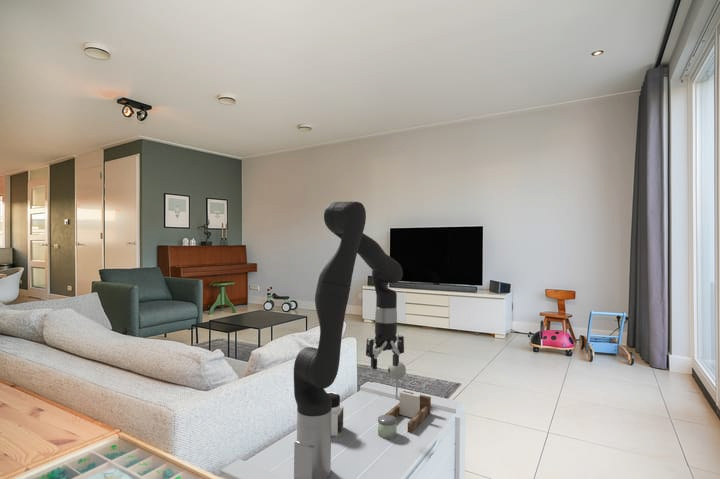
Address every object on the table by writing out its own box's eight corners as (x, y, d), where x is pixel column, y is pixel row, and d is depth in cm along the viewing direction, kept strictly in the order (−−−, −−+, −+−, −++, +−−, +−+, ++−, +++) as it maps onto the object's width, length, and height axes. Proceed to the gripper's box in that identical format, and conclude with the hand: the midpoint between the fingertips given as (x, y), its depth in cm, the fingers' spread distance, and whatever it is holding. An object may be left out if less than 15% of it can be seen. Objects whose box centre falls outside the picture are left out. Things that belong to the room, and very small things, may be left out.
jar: (391, 441, 123) (391, 425, 123) (374, 435, 126) (374, 420, 126) (399, 432, 128) (400, 417, 128) (383, 428, 131) (383, 413, 131)
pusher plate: (418, 419, 137) (418, 396, 137) (399, 414, 141) (399, 392, 141) (425, 412, 143) (425, 390, 143) (407, 407, 147) (407, 386, 147)
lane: (411, 432, 128) (411, 414, 128) (382, 424, 134) (382, 407, 134) (430, 413, 143) (430, 396, 143) (403, 406, 149) (403, 390, 149)
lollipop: (385, 396, 158) (385, 359, 159) (401, 394, 161) (401, 357, 161) (391, 403, 152) (392, 364, 152) (408, 401, 154) (408, 363, 154)
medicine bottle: (338, 437, 125) (338, 399, 125) (316, 434, 126) (317, 397, 126) (343, 426, 132) (343, 391, 132) (323, 424, 133) (323, 389, 133)
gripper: (374, 323, 127) (373, 373, 127) (409, 320, 135) (408, 367, 134) (362, 319, 134) (361, 367, 134) (396, 317, 141) (395, 362, 141)
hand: (384, 367), depth 134 cm, fingers open, 8 cm apart
